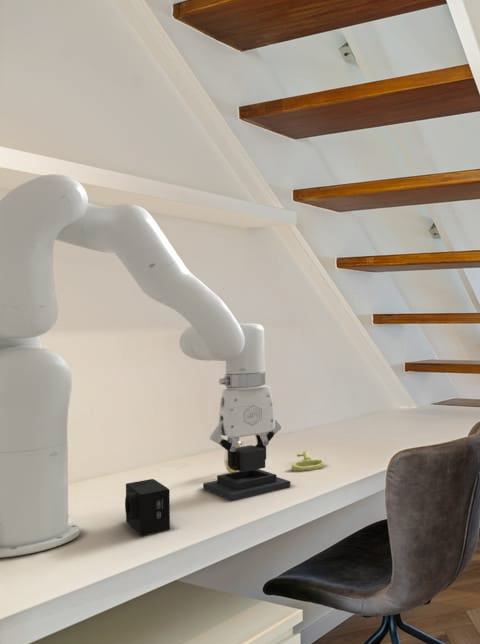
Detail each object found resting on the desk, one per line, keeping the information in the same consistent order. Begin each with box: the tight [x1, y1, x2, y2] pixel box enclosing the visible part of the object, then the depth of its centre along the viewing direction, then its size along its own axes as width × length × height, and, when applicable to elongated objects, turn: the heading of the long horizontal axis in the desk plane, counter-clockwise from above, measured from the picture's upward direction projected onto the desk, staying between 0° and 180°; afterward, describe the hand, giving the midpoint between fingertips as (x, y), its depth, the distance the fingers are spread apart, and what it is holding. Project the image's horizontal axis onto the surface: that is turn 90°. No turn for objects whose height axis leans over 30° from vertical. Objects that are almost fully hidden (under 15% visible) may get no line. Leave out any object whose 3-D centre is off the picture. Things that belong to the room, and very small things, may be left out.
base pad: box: [202, 469, 291, 502], centre depth 125 cm, size 12×14×3 cm
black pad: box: [237, 444, 266, 472], centre depth 126 cm, size 5×6×4 cm
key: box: [291, 450, 325, 472], centre depth 144 cm, size 7×12×2 cm, turn 43°
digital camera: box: [124, 478, 171, 537], centre depth 102 cm, size 10×5×7 cm, turn 46°
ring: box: [223, 438, 245, 473], centre depth 138 cm, size 7×3×8 cm, turn 173°
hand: (247, 465), depth 126 cm, fingers closed on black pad, 4 cm apart
